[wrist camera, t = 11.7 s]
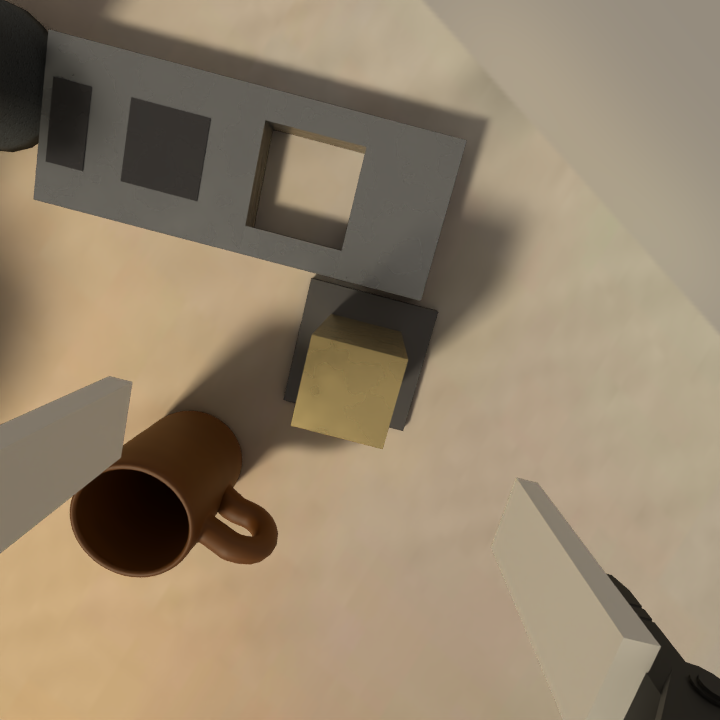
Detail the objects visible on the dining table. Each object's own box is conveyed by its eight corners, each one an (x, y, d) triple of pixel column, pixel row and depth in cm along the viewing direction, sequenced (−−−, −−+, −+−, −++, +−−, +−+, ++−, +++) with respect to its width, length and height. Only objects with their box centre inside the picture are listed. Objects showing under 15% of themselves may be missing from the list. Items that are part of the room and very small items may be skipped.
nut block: (315, 381, 33) (290, 425, 24) (331, 313, 32) (311, 334, 23) (382, 398, 33) (382, 449, 24) (400, 331, 32) (408, 359, 23)
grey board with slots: (55, 203, 31) (32, 199, 29) (70, 44, 29) (47, 28, 27) (418, 298, 32) (420, 301, 30) (461, 148, 29) (466, 140, 27)
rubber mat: (285, 397, 34) (283, 399, 33) (312, 278, 32) (311, 278, 31) (402, 427, 34) (402, 430, 33) (437, 310, 32) (438, 311, 31)
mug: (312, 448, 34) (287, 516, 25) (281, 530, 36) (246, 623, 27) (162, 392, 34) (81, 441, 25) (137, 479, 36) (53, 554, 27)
